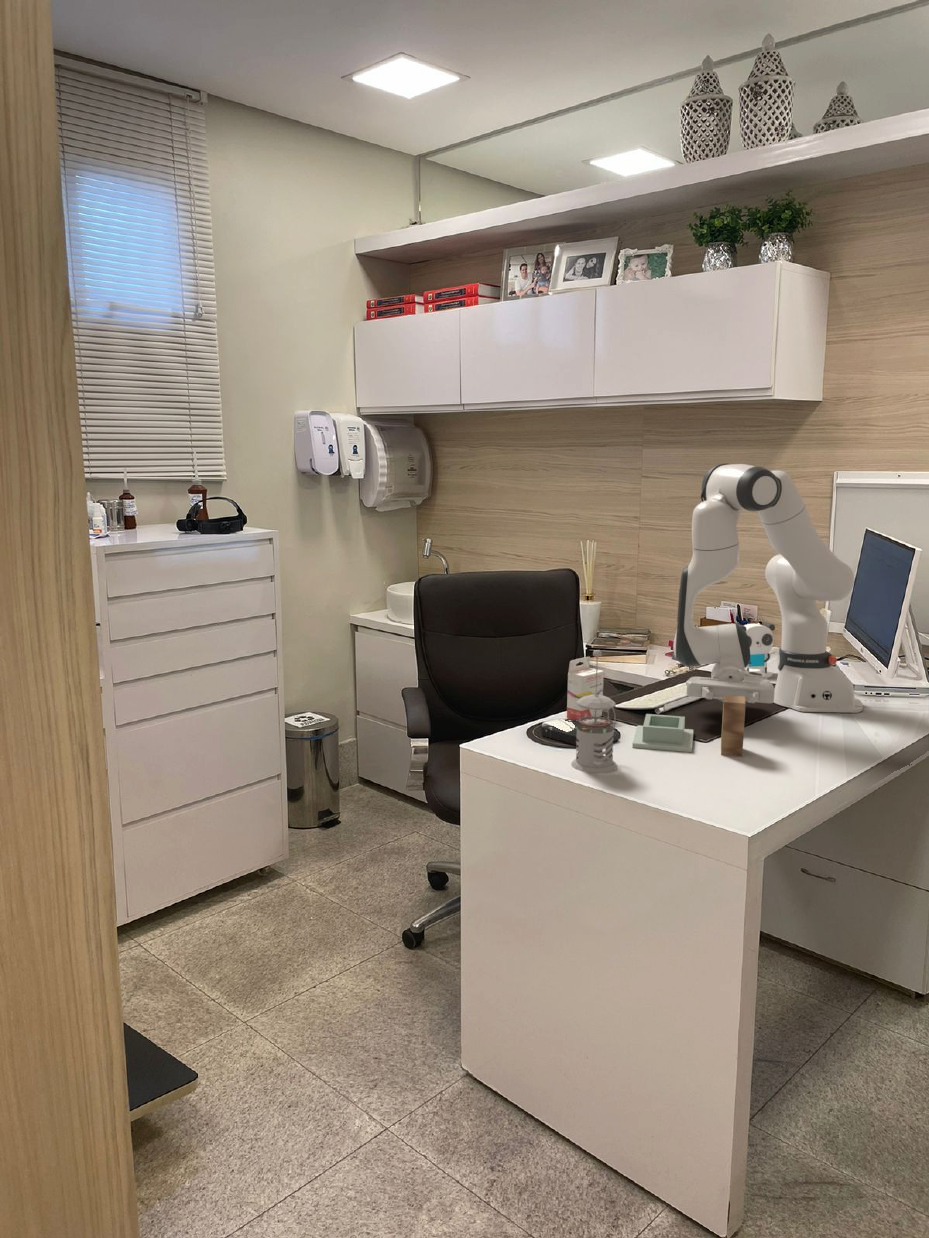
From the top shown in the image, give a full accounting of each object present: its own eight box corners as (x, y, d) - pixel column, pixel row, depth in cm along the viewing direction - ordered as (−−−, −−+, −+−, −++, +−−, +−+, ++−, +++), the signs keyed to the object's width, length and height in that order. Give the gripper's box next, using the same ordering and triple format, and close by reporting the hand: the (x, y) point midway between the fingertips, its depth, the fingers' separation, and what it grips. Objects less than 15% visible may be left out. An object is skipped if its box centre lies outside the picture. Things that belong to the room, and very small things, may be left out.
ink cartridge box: (581, 722, 230) (583, 664, 227) (566, 718, 233) (567, 660, 231) (603, 715, 236) (605, 658, 233) (587, 711, 239) (589, 655, 236)
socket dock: (693, 733, 221) (694, 715, 220) (691, 752, 208) (692, 732, 207) (637, 729, 224) (638, 711, 224) (632, 747, 211) (633, 728, 210)
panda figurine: (743, 679, 272) (746, 628, 270) (723, 670, 283) (726, 621, 280) (780, 676, 275) (783, 626, 272) (759, 667, 286) (762, 619, 283)
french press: (561, 765, 199) (564, 650, 195) (591, 752, 208) (594, 641, 203) (601, 776, 193) (605, 657, 188) (630, 761, 202) (634, 648, 197)
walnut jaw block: (741, 748, 211) (744, 696, 209) (742, 756, 205) (745, 703, 203) (720, 746, 212) (723, 695, 210) (721, 754, 206) (723, 702, 204)
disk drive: (540, 738, 220) (591, 752, 209) (540, 726, 219) (591, 739, 209) (568, 728, 227) (618, 741, 217) (568, 717, 226) (618, 729, 216)
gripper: (687, 668, 233) (685, 680, 220) (773, 675, 228) (776, 688, 215) (685, 692, 234) (683, 706, 221) (771, 700, 229) (774, 715, 216)
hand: (730, 697), depth 218 cm, fingers open, 8 cm apart
